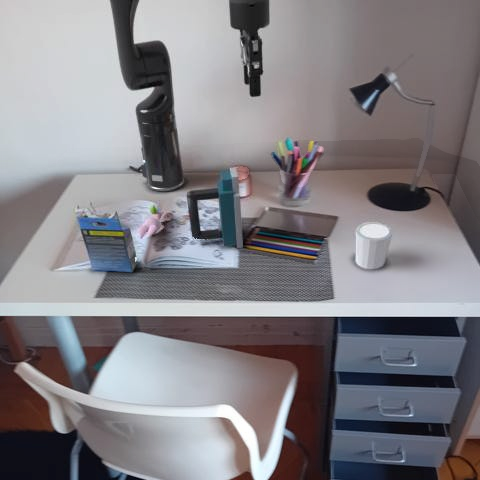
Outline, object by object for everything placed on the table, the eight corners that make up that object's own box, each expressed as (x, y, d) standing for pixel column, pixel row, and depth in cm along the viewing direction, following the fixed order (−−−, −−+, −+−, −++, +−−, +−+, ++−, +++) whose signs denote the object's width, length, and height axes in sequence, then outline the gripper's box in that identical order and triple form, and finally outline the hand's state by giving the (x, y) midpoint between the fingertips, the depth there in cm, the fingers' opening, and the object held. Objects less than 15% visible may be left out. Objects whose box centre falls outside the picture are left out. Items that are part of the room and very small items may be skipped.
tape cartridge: (139, 262, 104) (127, 208, 96) (132, 273, 101) (119, 218, 93) (99, 260, 105) (84, 207, 97) (91, 270, 102) (75, 216, 94)
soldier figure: (96, 213, 123) (130, 207, 117) (93, 232, 123) (128, 227, 116) (69, 202, 117) (104, 195, 110) (67, 222, 116) (102, 216, 110)
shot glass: (375, 248, 103) (379, 218, 98) (394, 265, 98) (400, 234, 93) (345, 256, 101) (348, 226, 97) (364, 274, 96) (368, 243, 92)
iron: (243, 247, 106) (193, 253, 105) (239, 231, 111) (192, 236, 111) (239, 179, 96) (184, 184, 95) (235, 164, 101) (183, 169, 101)
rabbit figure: (150, 221, 120) (131, 245, 107) (147, 196, 117) (126, 218, 104) (176, 221, 119) (159, 246, 106) (173, 196, 116) (156, 219, 103)
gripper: (225, -7, 98) (230, 82, 109) (233, 5, 87) (238, 102, 98) (263, -10, 98) (264, 79, 109) (275, 1, 88) (276, 98, 98)
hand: (252, 90), depth 103 cm, fingers open, 8 cm apart
